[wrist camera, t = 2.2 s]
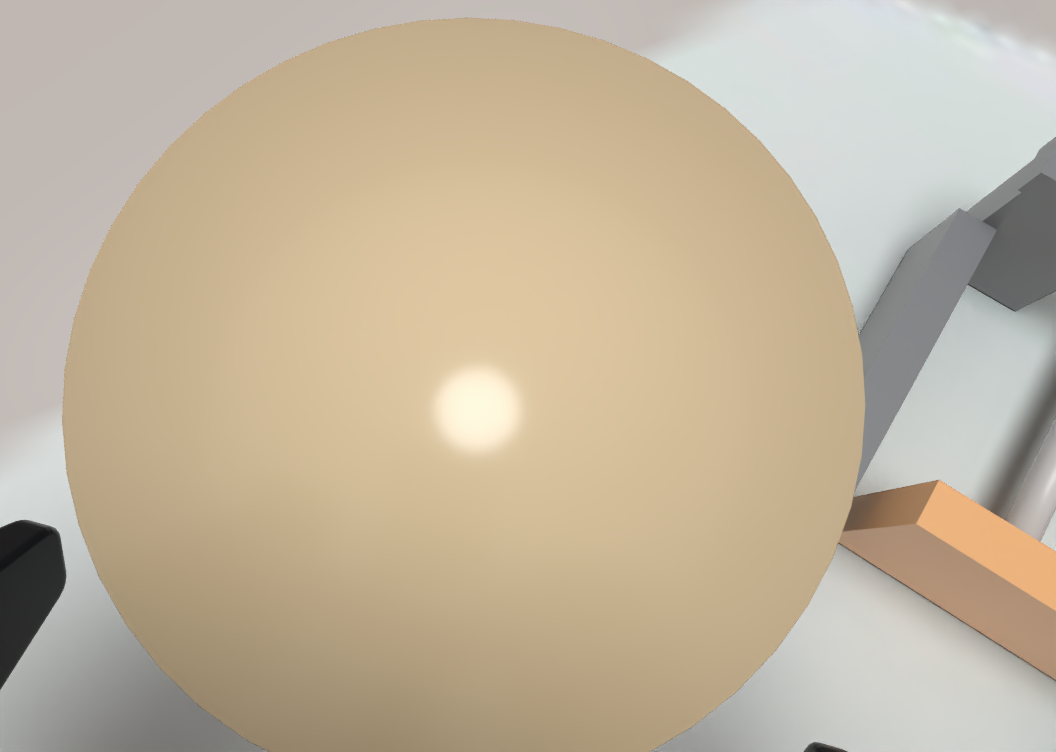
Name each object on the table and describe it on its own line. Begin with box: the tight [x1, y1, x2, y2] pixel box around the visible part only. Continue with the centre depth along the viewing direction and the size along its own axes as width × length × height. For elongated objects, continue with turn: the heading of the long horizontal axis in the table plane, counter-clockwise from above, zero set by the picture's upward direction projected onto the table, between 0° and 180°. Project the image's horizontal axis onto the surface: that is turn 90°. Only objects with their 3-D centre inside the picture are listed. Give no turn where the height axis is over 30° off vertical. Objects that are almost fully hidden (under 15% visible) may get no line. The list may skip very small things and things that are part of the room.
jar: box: [62, 18, 865, 752], centre depth 13 cm, size 6×6×14 cm
